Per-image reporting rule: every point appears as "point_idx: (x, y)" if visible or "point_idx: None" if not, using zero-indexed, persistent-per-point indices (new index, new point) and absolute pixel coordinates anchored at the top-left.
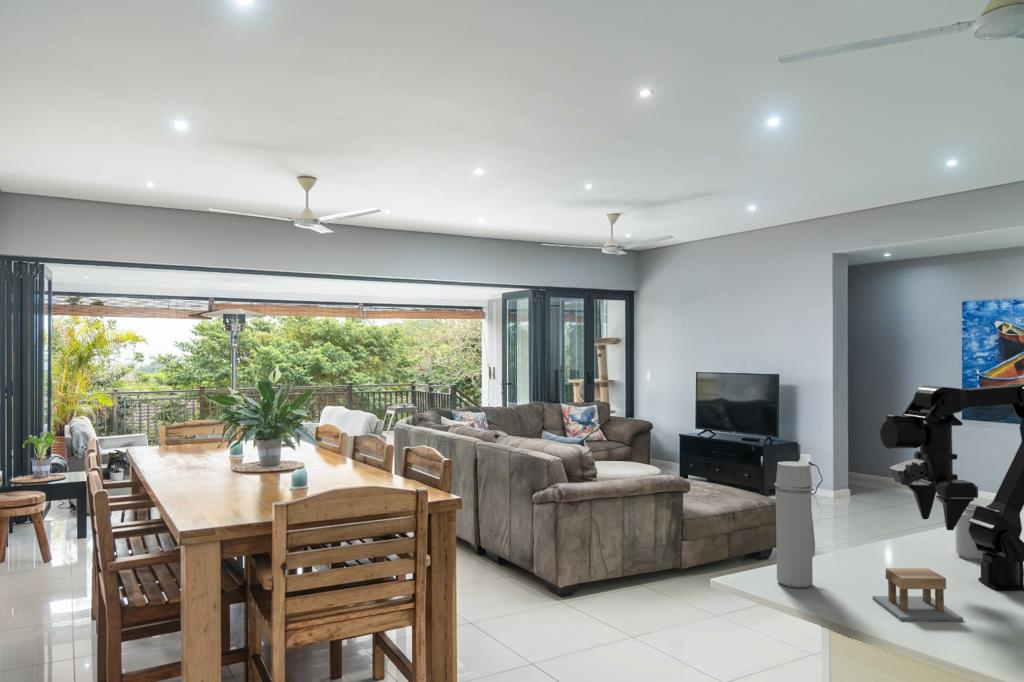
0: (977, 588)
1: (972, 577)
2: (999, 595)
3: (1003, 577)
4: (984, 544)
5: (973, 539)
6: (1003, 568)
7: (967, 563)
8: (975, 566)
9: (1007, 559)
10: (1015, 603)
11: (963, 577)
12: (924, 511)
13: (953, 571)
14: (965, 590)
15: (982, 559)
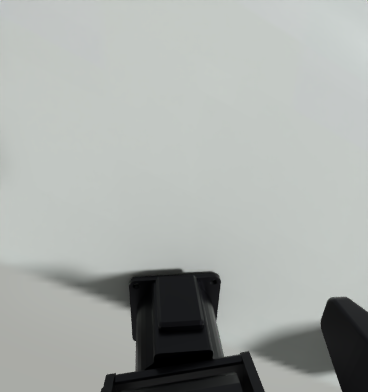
0: (150, 241)
1: (247, 271)
2: (91, 265)
3: (140, 320)
4: (173, 384)
5: (231, 378)
6: (140, 344)
7: None
8: None
9: (105, 379)
10: (25, 271)
11: (250, 251)
12: (363, 364)
13: (305, 251)
14: (129, 203)
15: None
